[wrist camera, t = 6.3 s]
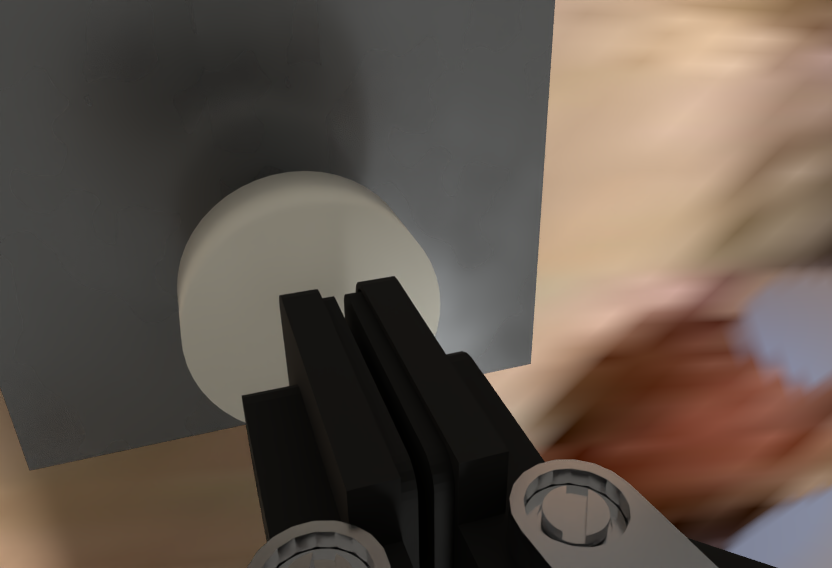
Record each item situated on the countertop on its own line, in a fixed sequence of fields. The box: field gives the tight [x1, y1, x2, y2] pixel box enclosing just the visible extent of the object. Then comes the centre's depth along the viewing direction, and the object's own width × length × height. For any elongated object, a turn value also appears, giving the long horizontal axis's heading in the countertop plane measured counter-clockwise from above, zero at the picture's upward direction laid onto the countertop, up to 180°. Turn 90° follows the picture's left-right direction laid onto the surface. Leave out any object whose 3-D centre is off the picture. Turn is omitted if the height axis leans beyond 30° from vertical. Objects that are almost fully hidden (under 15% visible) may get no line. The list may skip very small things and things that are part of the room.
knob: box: [177, 171, 440, 423], centre depth 14 cm, size 4×4×5 cm
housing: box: [0, 0, 555, 470], centre depth 15 cm, size 17×12×4 cm
